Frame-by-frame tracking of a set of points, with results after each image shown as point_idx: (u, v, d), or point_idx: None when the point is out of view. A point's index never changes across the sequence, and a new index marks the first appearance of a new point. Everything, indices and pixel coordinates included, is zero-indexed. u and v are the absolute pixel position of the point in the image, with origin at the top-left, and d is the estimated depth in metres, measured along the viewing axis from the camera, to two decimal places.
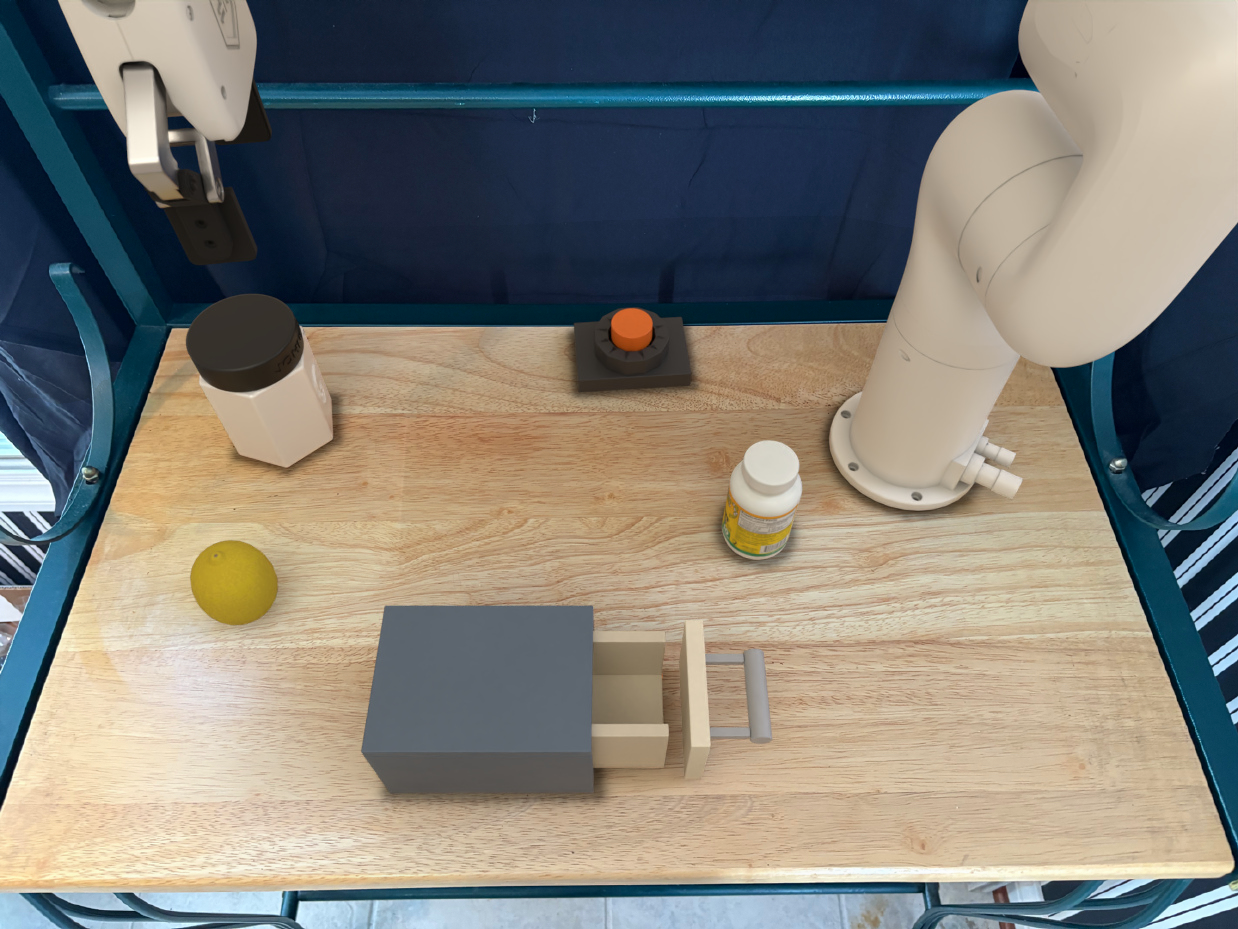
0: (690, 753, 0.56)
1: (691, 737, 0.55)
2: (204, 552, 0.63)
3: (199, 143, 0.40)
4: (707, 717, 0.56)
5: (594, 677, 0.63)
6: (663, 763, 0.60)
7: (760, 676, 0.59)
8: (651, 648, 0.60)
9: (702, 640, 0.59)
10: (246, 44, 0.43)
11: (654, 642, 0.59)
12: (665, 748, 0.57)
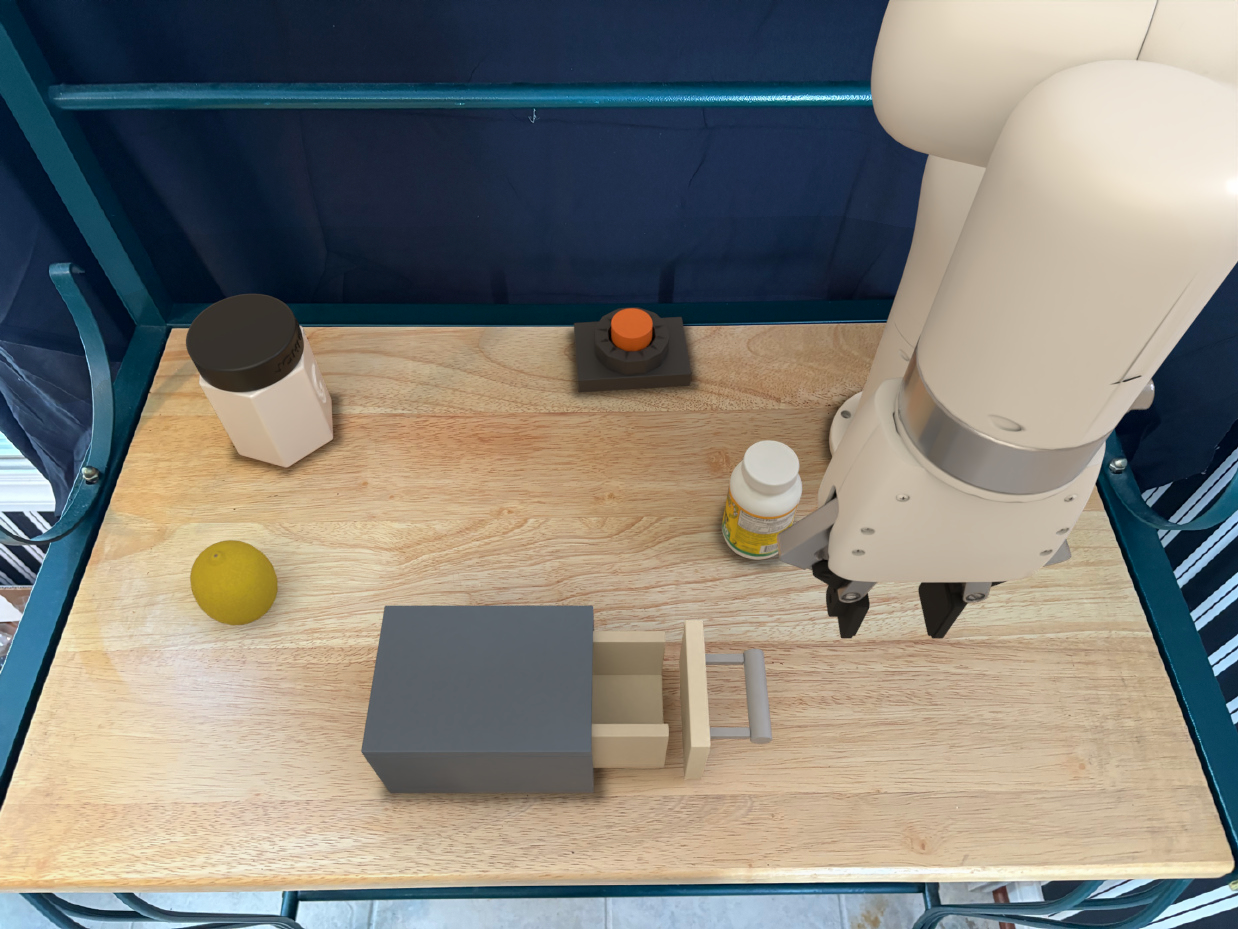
0: (690, 753, 0.56)
1: (691, 737, 0.55)
2: (204, 552, 0.63)
3: None
4: (707, 717, 0.56)
5: (594, 677, 0.63)
6: (663, 763, 0.60)
7: (760, 676, 0.59)
8: (651, 648, 0.60)
9: (702, 640, 0.59)
10: None
11: (654, 642, 0.59)
12: (665, 748, 0.57)
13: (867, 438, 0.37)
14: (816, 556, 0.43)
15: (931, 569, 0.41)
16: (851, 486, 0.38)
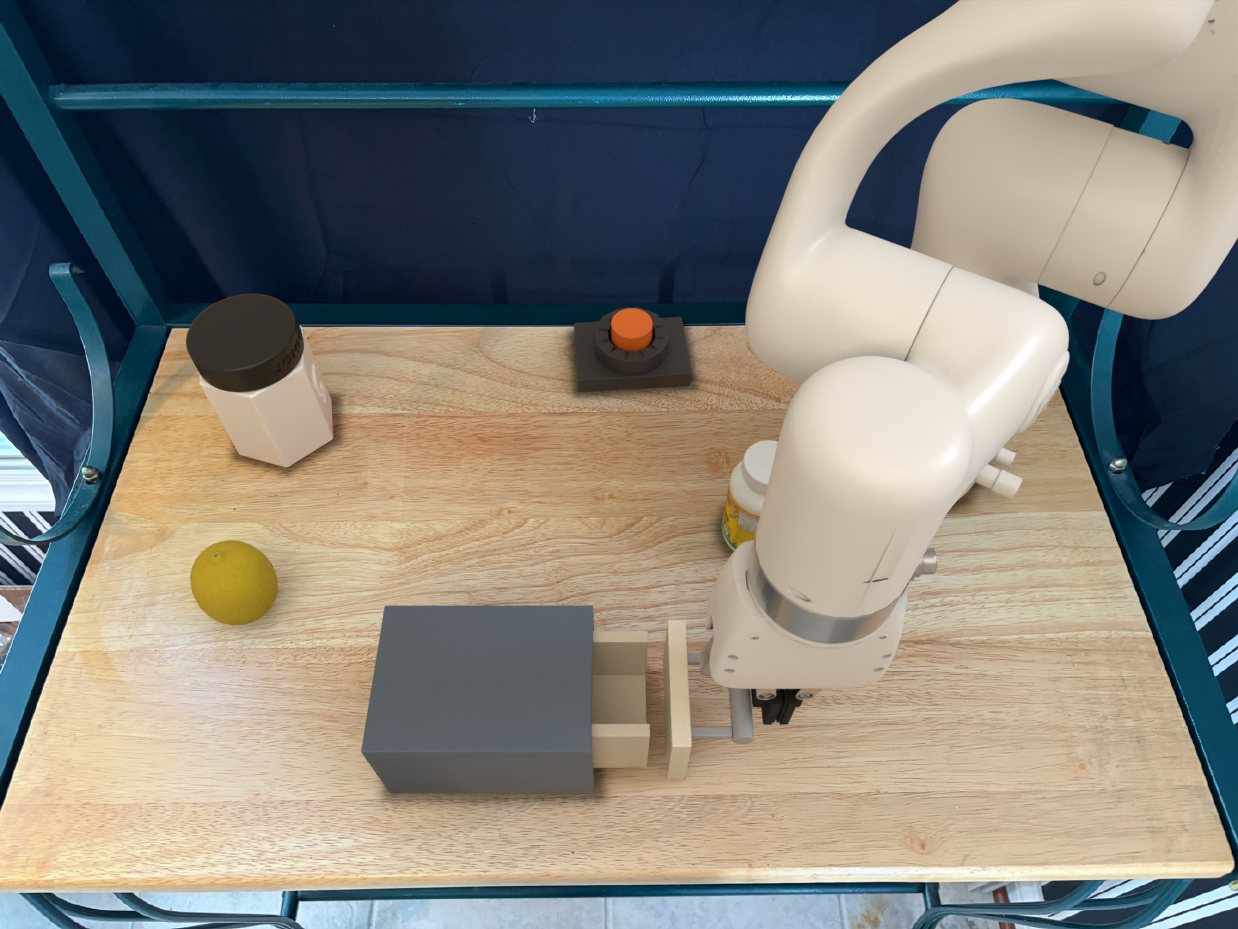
0: (671, 753, 0.56)
1: (672, 737, 0.55)
2: (204, 552, 0.63)
3: None
4: (688, 717, 0.56)
5: None
6: (646, 763, 0.60)
7: None
8: (634, 648, 0.60)
9: (684, 640, 0.59)
10: None
11: (636, 642, 0.59)
12: (647, 748, 0.57)
13: (728, 589, 0.47)
14: None
15: (790, 681, 0.51)
16: (719, 622, 0.49)
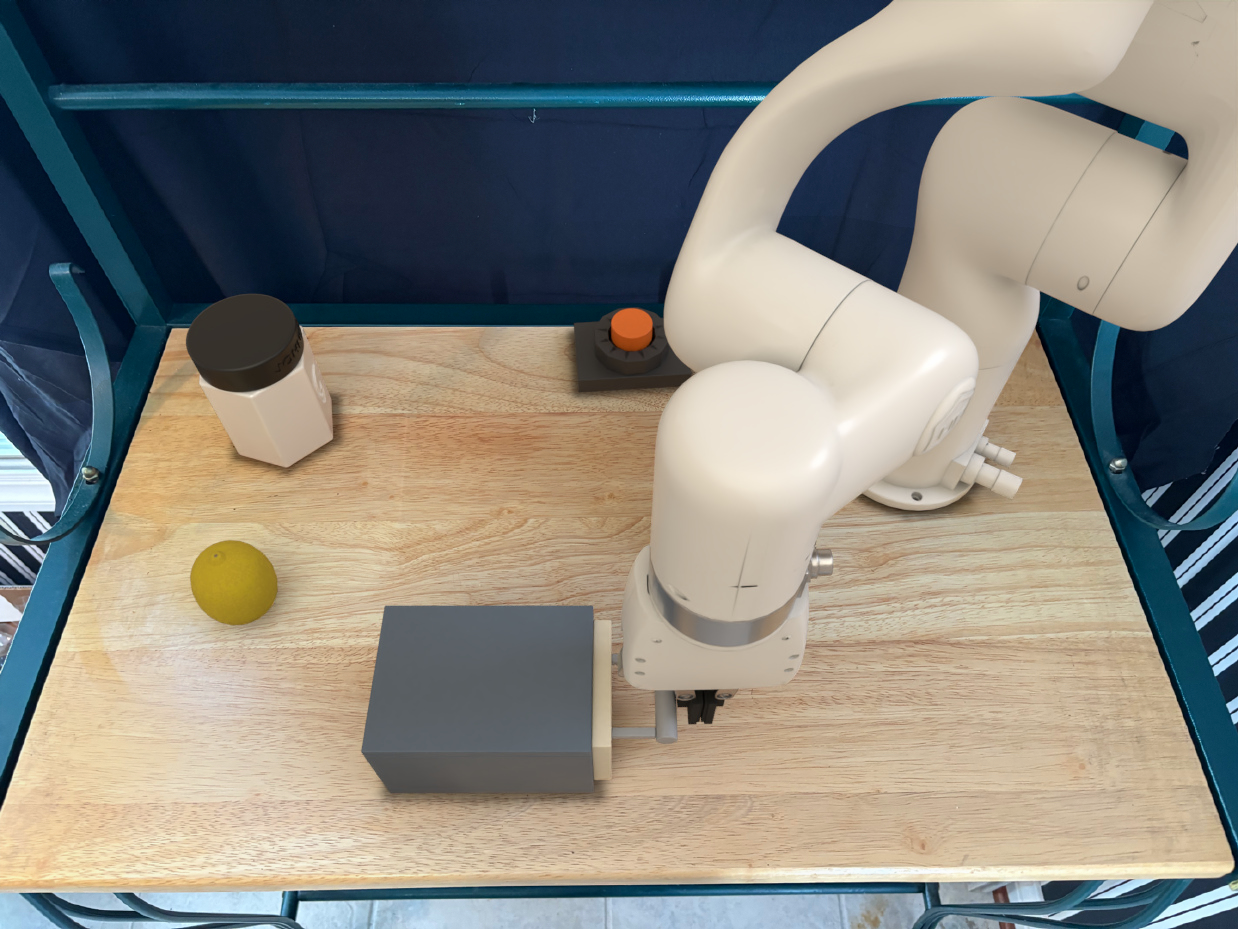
0: (592, 753, 0.56)
1: (592, 737, 0.55)
2: (204, 552, 0.63)
3: None
4: (609, 717, 0.56)
5: None
6: None
7: None
8: None
9: (609, 640, 0.59)
10: None
11: None
12: None
13: (631, 593, 0.47)
14: None
15: (702, 683, 0.51)
16: (626, 626, 0.49)
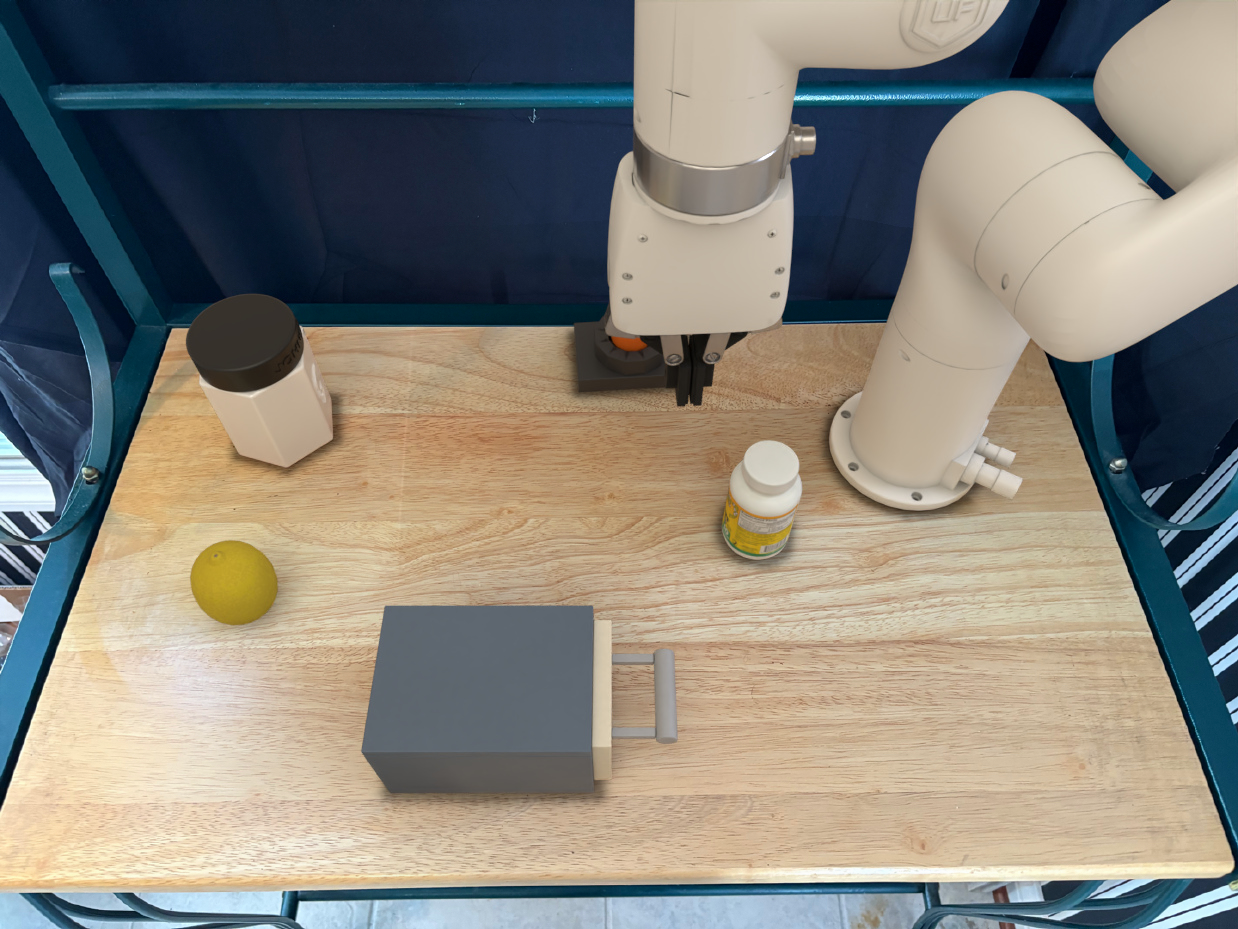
0: (592, 753, 0.56)
1: (592, 737, 0.55)
2: (204, 552, 0.63)
3: None
4: (609, 717, 0.56)
5: None
6: None
7: (668, 676, 0.59)
8: None
9: (609, 640, 0.59)
10: None
11: None
12: None
13: (616, 196, 0.47)
14: None
15: (689, 316, 0.51)
16: (612, 241, 0.49)
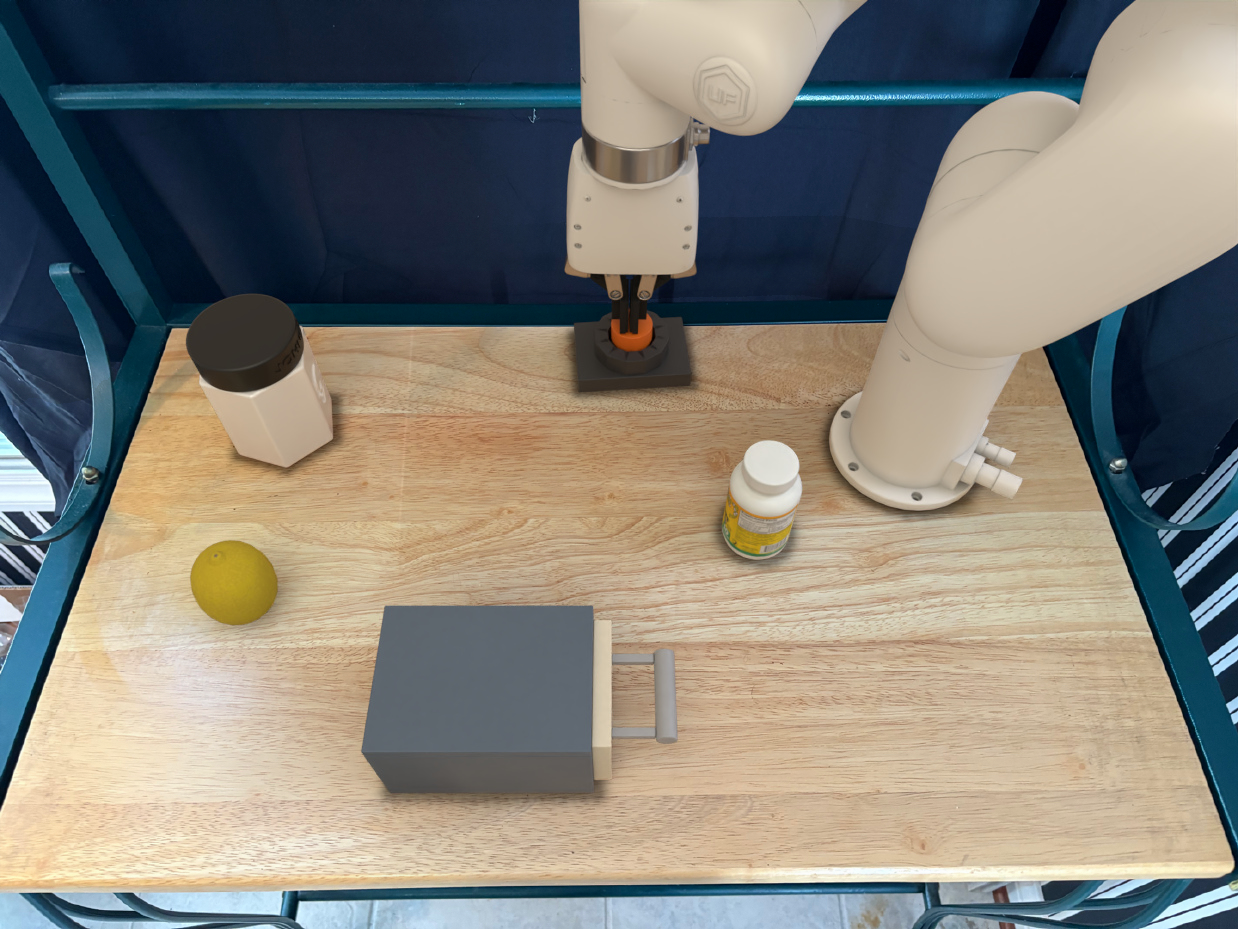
0: (592, 753, 0.56)
1: (592, 737, 0.55)
2: (204, 552, 0.63)
3: None
4: (609, 717, 0.56)
5: None
6: None
7: (668, 676, 0.59)
8: None
9: (609, 640, 0.59)
10: None
11: None
12: None
13: (570, 168, 0.66)
14: None
15: (624, 260, 0.70)
16: (567, 200, 0.68)
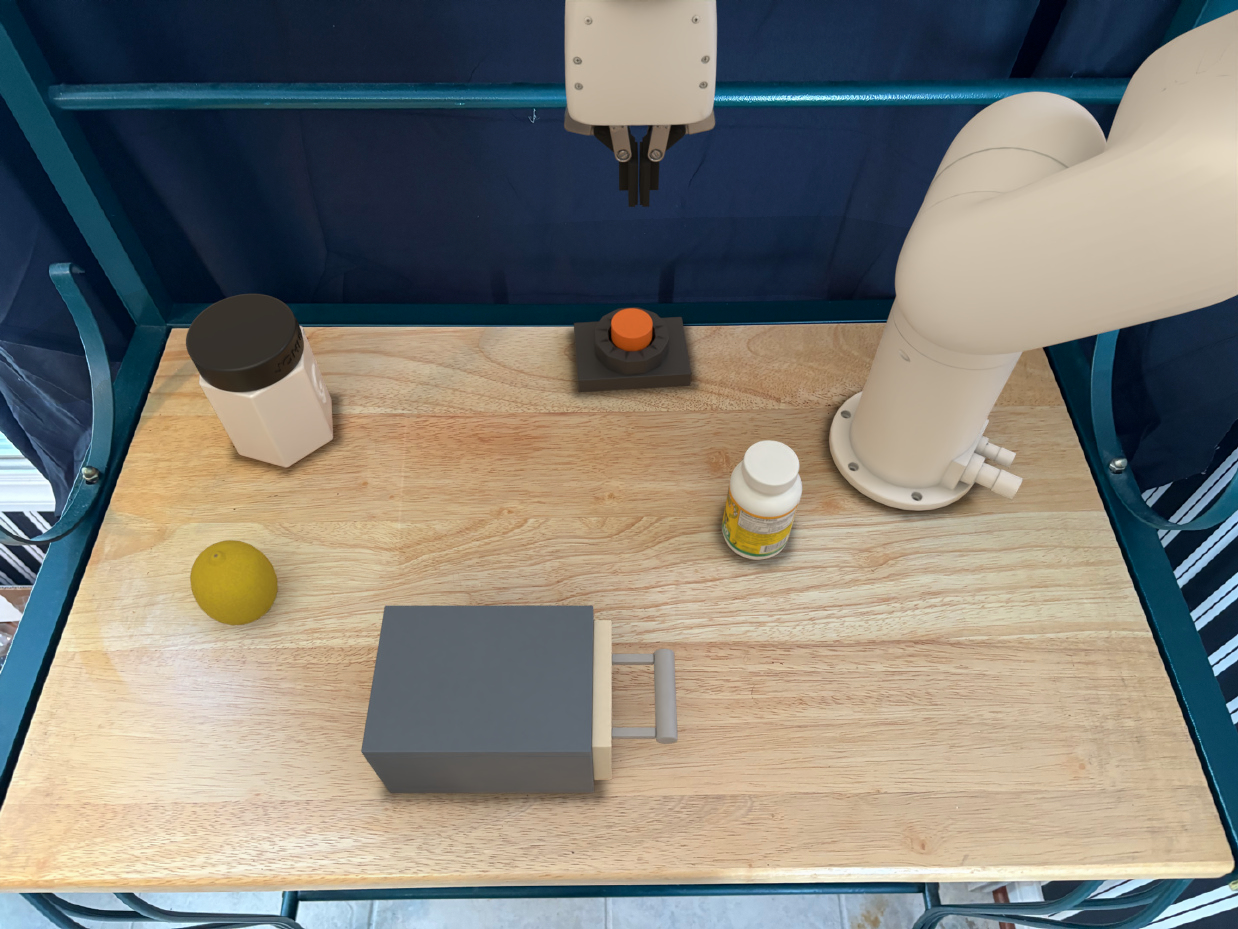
0: (592, 753, 0.56)
1: (592, 737, 0.55)
2: (204, 552, 0.63)
3: None
4: (609, 717, 0.56)
5: None
6: None
7: (668, 676, 0.59)
8: None
9: (609, 640, 0.59)
10: None
11: None
12: None
13: None
14: None
15: (632, 104, 0.61)
16: (565, 30, 0.58)
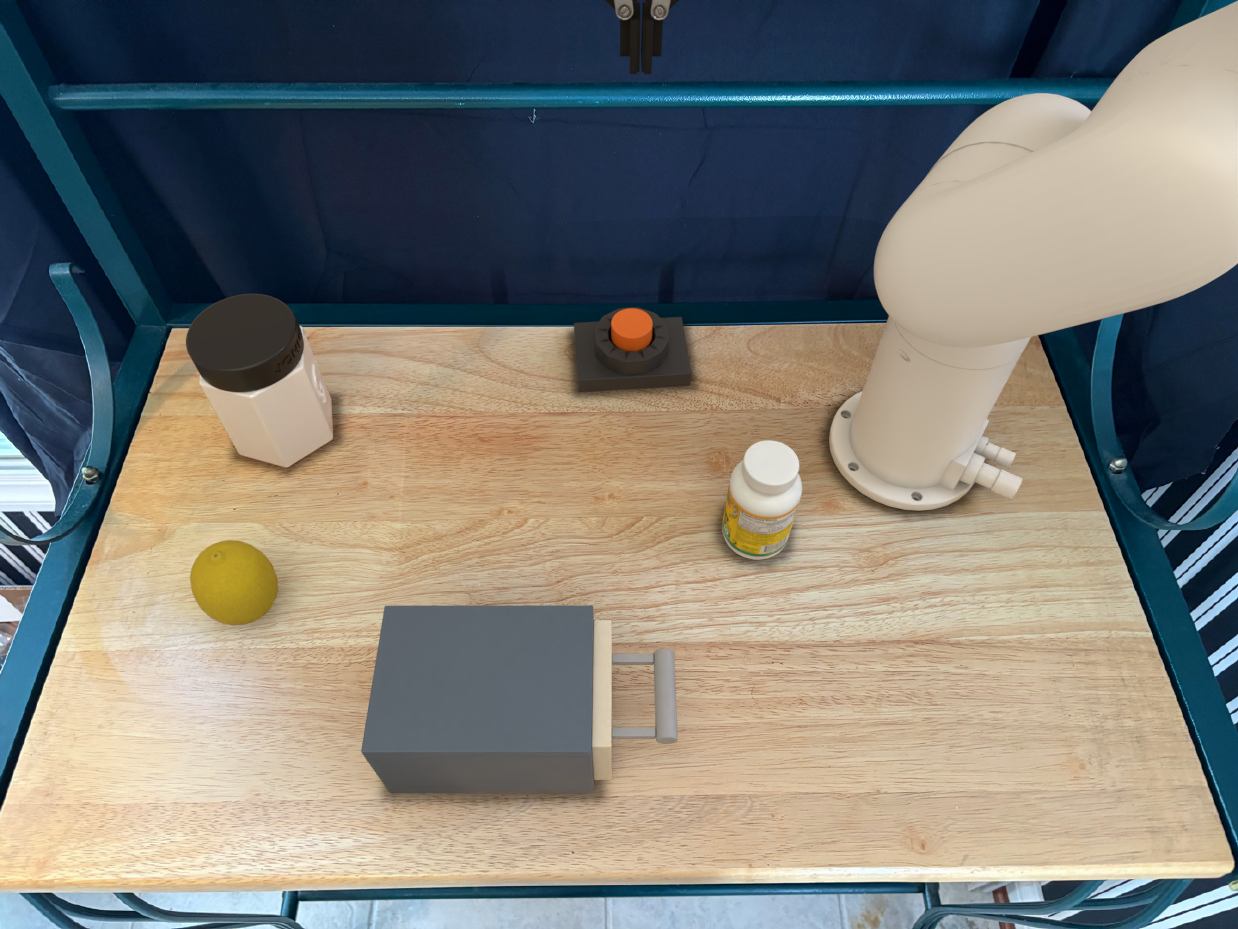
0: (592, 753, 0.56)
1: (592, 737, 0.55)
2: (204, 552, 0.63)
3: None
4: (609, 717, 0.56)
5: None
6: None
7: (668, 676, 0.59)
8: None
9: (609, 640, 0.59)
10: None
11: None
12: None
13: None
14: None
15: None
16: None
